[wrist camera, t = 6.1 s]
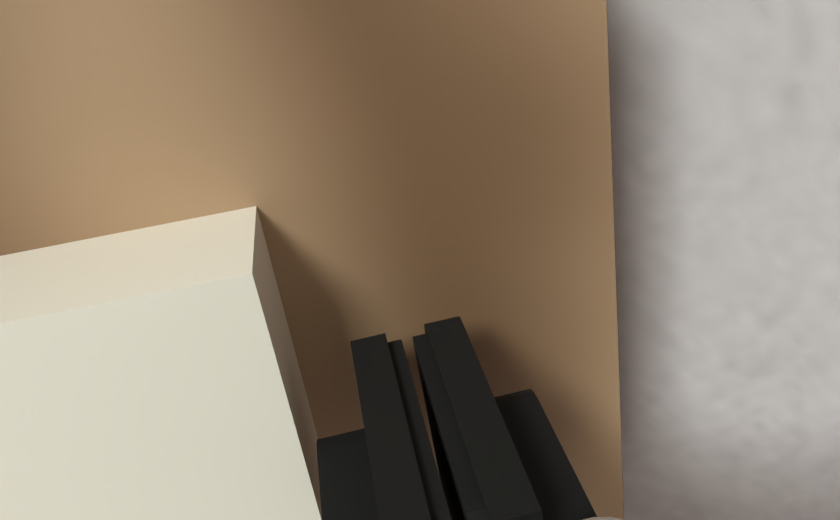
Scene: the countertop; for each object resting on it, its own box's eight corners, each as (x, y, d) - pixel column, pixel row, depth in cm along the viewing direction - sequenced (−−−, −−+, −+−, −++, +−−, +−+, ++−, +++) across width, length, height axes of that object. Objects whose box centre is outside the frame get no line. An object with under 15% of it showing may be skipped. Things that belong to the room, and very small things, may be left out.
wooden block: (512, -155, 13) (600, -163, 9) (563, 470, 19) (627, 603, 16) (-657, 48, 11) (-1070, 128, 8) (-175, 644, 18) (-285, 832, 15)
